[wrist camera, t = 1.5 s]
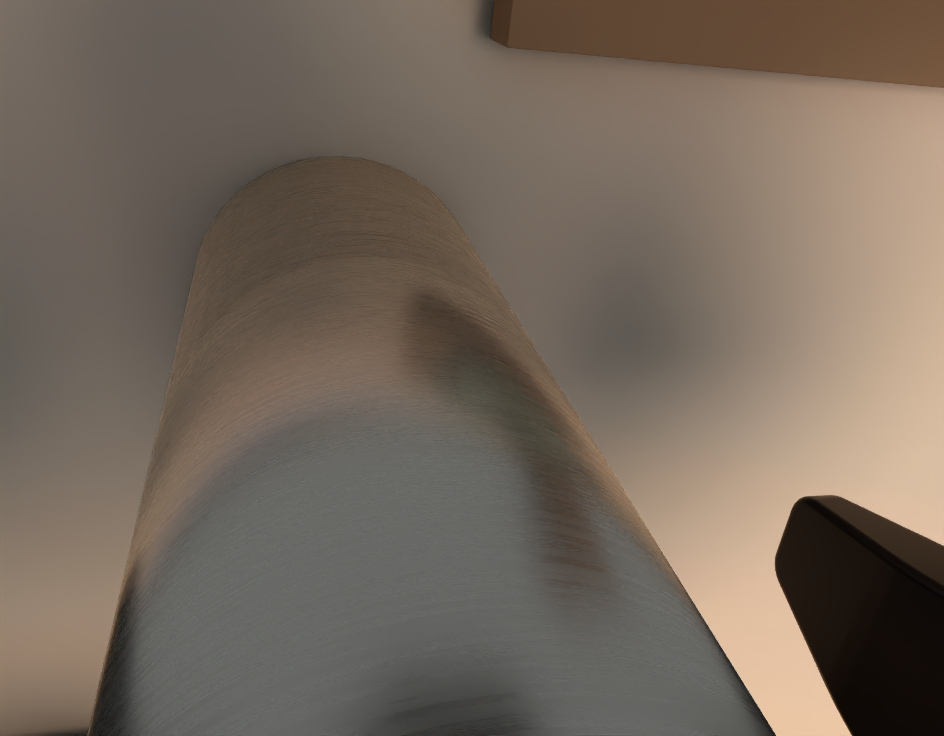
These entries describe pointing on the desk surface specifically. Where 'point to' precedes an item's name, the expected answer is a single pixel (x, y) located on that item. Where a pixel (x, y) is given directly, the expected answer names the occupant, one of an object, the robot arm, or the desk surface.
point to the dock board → (741, 34)
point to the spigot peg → (386, 504)
